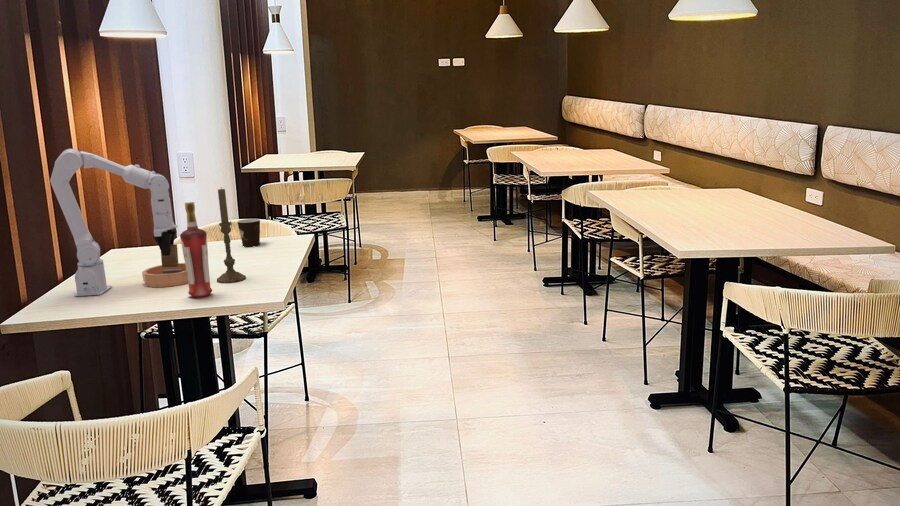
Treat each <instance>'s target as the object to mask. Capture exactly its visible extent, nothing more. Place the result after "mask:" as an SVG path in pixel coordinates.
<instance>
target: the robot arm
mask: <svg viewBox="0 0 900 506" xmlns="http://www.w3.org/2000/svg"><path fill="white" fill-rule="evenodd" d="M53 166H54V167H53V170H52V172H51V176H50V179H49V180H50V185H51V187H52V190H53V192H54V194H55V197H56V199H57V202H58V204H59V206H60V208H61V211H62V212H63V213H62V214H63V217H64V218H65V221H66V223H67V226H68V227H69V231H70V232H71V235H72V237H73V240H74V244H75V247H76V258H77V260H78V262H77V264H76V265H77V270H76V272H75V273H74V282H75V287H76V293H75V294H74V297H83V296H87V297H88V296H101V295H102V294H104V293H106V292H107V291H109V290H111V288H113V285H108V284H107V277H106V271H105V264H104V260H103V259H101V258H100V257H101V246H100V244H99V243H98V242H97V241H95V240H94V238H93V236H92V234H91V232H90V230H89V228H88V224H87V223H86V221H85V219H84V216H83V214H82V211H81V208H80V206H79V204H78V202H77V200H76V199H77V198H76V197H75V194H74V191H73V189H72V187H71V185H70V181H71V179H72V177H73V176H74V174H75V173H76V172H78V170H80V169H81V167H82V166H83V169H91V168H96V169H99V170H102V171H105V172H109V173H111V174H114V175H117V176H119V177H120V176H121V178H122V179H123V181H124V182H125V183H127V184H130V185H133V186H136V187H139V188H142V189H144V190H147V189H149V190H150V196H151V197H150V204H151V212H152V217H153V218H152V221H153V235H152V238H153V240H155V241H156V244H157V246H158V247H159V249H160V254H161V253H162V255H163V256H167V255H170V244H175V238H176V236H177V232H178V231H177V228H178V225H177V224H175V222H174V218H173V211H172V204H171V198H170V192H169V189H170V184H169V182H168V179H167V178H166V177H165V176H164V175H162V174H160V173H156V171H154V170H152V171H150V170H147V169H145V168H142V167H141V166H140V165H139V164H136V163H135V164H134V165H133V164H129V165H126V166H125V165H122V164H119V163H117V162H115V161H112V160H110V159H107V158H104V157H102V156H100V155H98V154H94V153H91V152H88V151H84V150H83V151H81V150H80V151H79V150H78V149H76V148H67V149H64V150H63V151H62V153H60V155H59V156H58V157H57V159H56V160H55V161H54V165H53Z"/></svg>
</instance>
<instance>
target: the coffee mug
mask: <svg viewBox="0 0 900 506" xmlns="http://www.w3.org/2000/svg"><path fill="white" fill-rule="evenodd" d="M237 226H238V231H239V235H240V239H241V244H242V247H243V246H244V247H243V248H254V247H253V246H256V247H259V246H260V241H261V235H260V234H261V219H259V218H246V219H245V218H243V219H239V220H237ZM258 245H259V246H258Z"/></svg>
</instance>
